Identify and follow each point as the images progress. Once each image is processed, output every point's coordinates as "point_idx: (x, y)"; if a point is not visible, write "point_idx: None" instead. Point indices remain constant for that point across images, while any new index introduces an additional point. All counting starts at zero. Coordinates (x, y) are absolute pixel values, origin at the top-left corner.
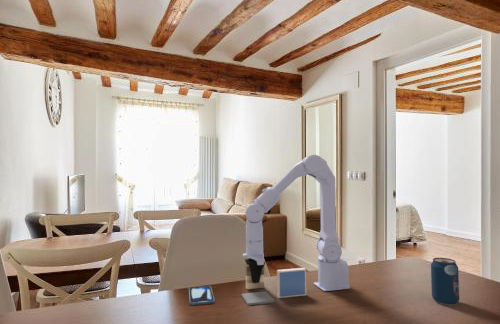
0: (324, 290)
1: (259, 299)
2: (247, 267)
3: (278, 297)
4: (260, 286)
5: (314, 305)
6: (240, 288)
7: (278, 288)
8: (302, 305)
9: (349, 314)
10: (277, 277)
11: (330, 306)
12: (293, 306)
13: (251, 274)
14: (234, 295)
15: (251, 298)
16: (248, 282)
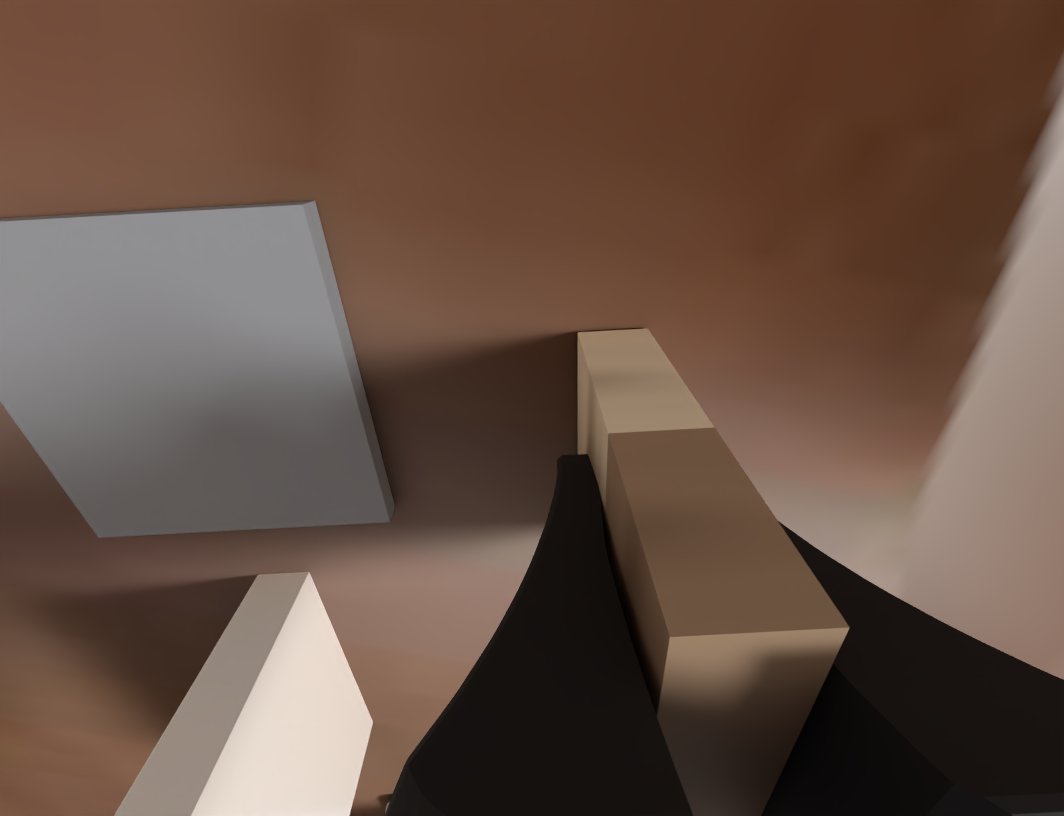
0: (387, 807)
1: (93, 410)
2: (649, 609)
3: (262, 576)
4: None
5: (118, 719)
6: (653, 247)
7: (208, 662)
8: (99, 671)
9: (9, 798)
10: (159, 808)
11: (120, 769)
12: (57, 623)
13: (568, 536)
14: (342, 75)
15: (111, 321)
16: (588, 399)
